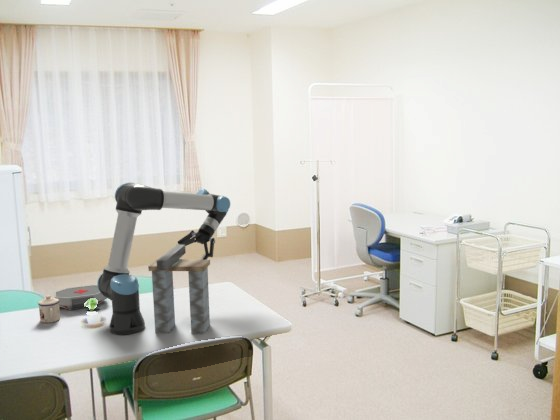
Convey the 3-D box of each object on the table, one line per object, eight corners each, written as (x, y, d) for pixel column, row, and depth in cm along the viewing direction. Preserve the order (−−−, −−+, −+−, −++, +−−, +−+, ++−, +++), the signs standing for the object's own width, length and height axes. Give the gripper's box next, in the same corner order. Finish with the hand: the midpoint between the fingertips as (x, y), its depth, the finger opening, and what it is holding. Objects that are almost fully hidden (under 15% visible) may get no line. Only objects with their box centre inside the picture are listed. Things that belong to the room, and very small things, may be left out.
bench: (152, 333, 234) (148, 265, 230) (160, 323, 246) (157, 258, 241) (206, 334, 232) (203, 266, 227) (212, 324, 244) (209, 258, 239)
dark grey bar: (157, 270, 222) (156, 260, 222) (177, 252, 252) (176, 244, 251) (166, 270, 222) (166, 260, 221) (185, 252, 251) (185, 244, 251)
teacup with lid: (38, 318, 255) (36, 295, 253) (59, 315, 259) (57, 291, 258) (41, 326, 245) (39, 302, 243) (63, 322, 249) (61, 298, 247)
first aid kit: (106, 297, 286) (55, 303, 276) (105, 283, 285) (54, 289, 275) (109, 306, 270) (56, 314, 260) (108, 292, 269) (54, 299, 259)
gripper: (186, 216, 275) (163, 249, 265) (227, 231, 266) (206, 266, 256) (190, 224, 281) (168, 257, 271) (231, 239, 272) (210, 273, 262)
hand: (186, 261), depth 264 cm, fingers open, 13 cm apart
